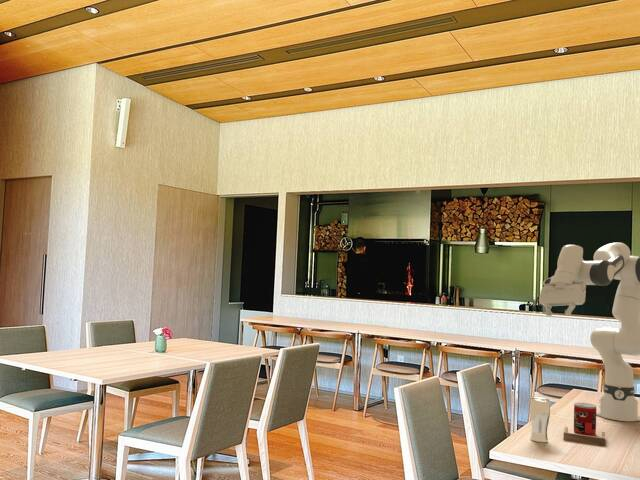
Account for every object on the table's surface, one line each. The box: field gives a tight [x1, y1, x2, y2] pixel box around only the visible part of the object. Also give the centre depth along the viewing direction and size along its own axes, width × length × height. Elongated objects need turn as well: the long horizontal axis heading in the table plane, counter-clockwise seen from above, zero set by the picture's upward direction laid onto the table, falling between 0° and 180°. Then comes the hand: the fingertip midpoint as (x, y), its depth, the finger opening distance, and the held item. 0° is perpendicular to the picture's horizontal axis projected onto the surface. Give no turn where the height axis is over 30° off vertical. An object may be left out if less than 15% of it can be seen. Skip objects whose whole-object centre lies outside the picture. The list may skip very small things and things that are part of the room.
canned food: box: [573, 402, 597, 436], centre depth 234 cm, size 8×8×11 cm
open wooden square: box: [563, 426, 606, 447], centre depth 225 cm, size 10×14×2 cm
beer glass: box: [529, 396, 551, 444], centre depth 220 cm, size 7×7×15 cm
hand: (557, 315), depth 232 cm, fingers open, 8 cm apart
